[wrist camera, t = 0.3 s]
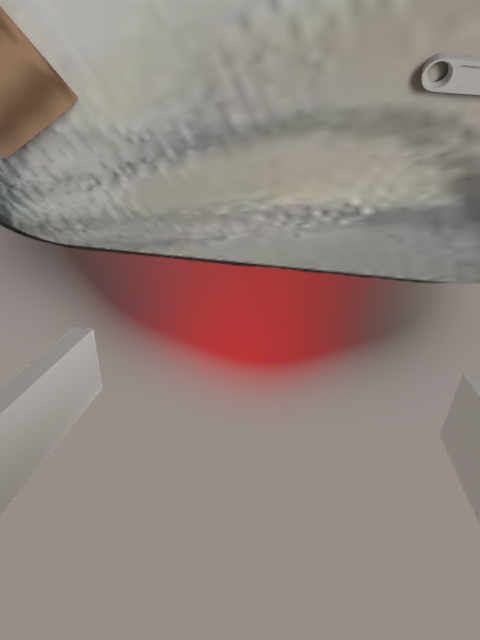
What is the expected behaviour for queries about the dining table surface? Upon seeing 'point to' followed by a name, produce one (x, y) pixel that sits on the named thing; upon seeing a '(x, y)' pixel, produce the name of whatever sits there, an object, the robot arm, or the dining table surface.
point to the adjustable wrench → (454, 74)
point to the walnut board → (26, 89)
